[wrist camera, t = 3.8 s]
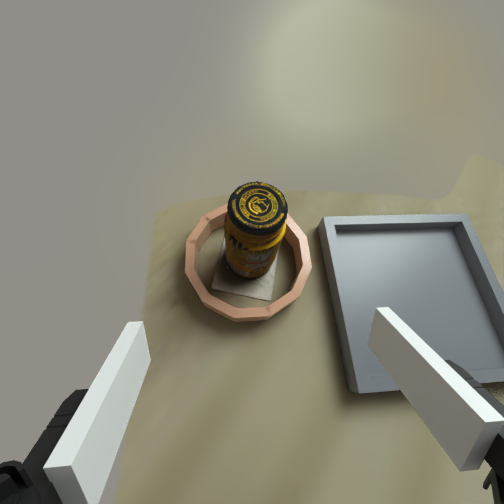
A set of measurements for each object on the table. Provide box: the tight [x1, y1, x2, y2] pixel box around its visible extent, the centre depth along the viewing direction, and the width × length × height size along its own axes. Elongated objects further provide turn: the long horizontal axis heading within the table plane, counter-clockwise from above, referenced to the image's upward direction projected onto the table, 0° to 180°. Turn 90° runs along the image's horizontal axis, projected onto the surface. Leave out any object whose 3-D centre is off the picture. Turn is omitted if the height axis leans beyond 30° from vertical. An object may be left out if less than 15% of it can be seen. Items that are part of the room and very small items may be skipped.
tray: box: [318, 214, 504, 393], centre depth 30 cm, size 20×20×2 cm
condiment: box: [211, 181, 288, 301], centre depth 26 cm, size 7×8×12 cm
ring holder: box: [185, 203, 312, 322], centre depth 30 cm, size 14×14×3 cm
